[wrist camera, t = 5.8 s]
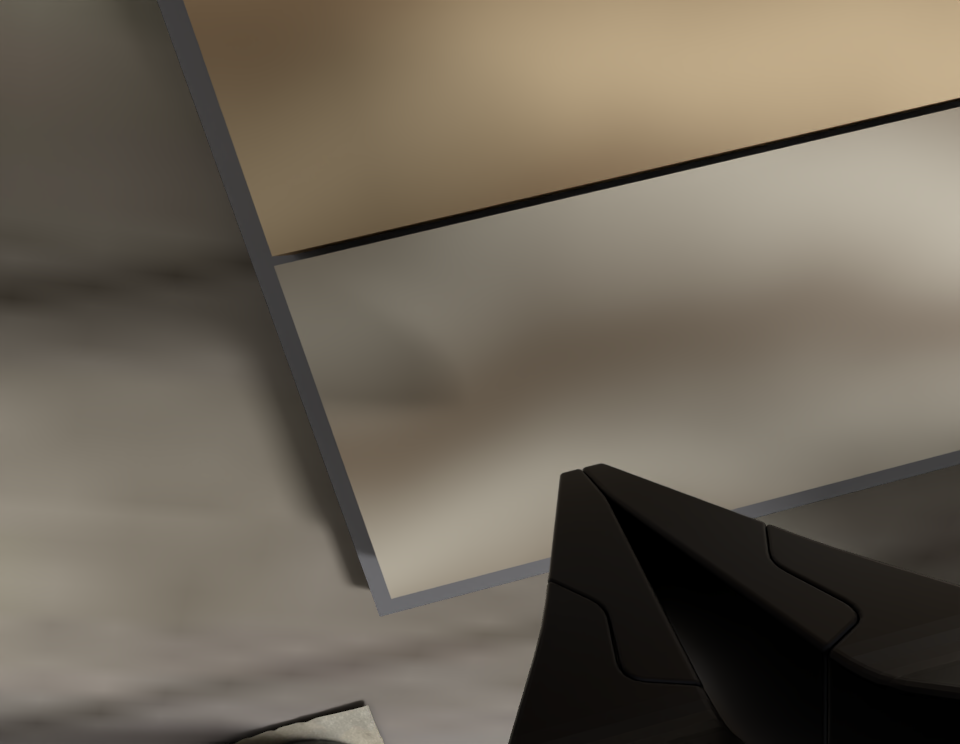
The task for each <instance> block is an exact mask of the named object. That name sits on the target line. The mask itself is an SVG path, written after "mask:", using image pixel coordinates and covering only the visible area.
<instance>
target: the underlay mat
mask: <svg viewBox="0 0 960 744" xmlns="http://www.w3.org/2000/svg"><path fill="white" fill-rule="evenodd" d="M157 2H158V5H159V7H160V10H161V13H162V16H163V18H164V21H165V24H166V27H167V30H168V32H169V35H170V38H171V41H172V43H173V46H174V49H175V52H176V54H177V57H178V60H179V63H180V65H181V68H182V71H183V74H184V77H185V79H186V82H187V85H188V88H189V90H190V93H191V96H192V99H193V101H194V104H195V107H196V110H197V112H198V115H199V118H200V121H201V124H202V126H203V129H204V132H205V135H206V137H207V140H208V143H209V146H210V148H211V151H212V154H213V157H214V159H215V162H216V165H217V168H218V170H219V173H220V176H221V179H222V182H223V184H224V187H225V190H226V193H227V195H228V198H229V201H230V204H231V206H232V209H233V212H234V215H235V217H236V220H237V223H238V226H239V229H240V231H241V234H242V237H243V240H244V242H245V245H246V248H247V251H248V253H249V256H250V259H251V262H252V264H253V267H254V270H255V273H256V276H257V278H258V281H259V284H260V287H261V289H262V292H263V295H264V298H265V300H266V303H267V306H268V309H269V311H270V314H271V317H272V320H273V322H274V325H275V328H276V331H277V334H278V336H279V339H280V342H281V345H282V347H283V350H284V353H285V356H286V358H287V361H288V364H289V367H290V369H291V372H292V375H293V378H294V381H295V383H296V386H297V389H298V392H299V394H300V397H301V400H302V403H303V405H304V408H305V411H306V414H307V416H308V419H309V422H310V425H311V428H312V430H313V433H314V436H315V439H316V441H317V444H318V447H319V450H320V452H321V455H322V458H323V461H324V463H325V466H326V469H327V472H328V474H329V477H330V480H331V483H332V486H333V488H334V491H335V494H336V497H337V499H338V502H339V505H340V508H341V510H342V513H343V516H344V519H345V521H346V524H347V527H348V530H349V533H350V535H351V538H352V541H353V544H354V546H355V549H356V552H357V555H358V557H359V560H360V563H361V566H362V568H363V571H364V574H365V577H366V580H367V582H368V585H369V588H370V591H371V593H372V596H373V599H374V602H375V604H376V607H377V610H378V613H379V615H380V616H384V615H388V614H392V613H395V612H399V611H403V610H407V609H411V608H414V607H418V606H422V605H426V604H430V603H433V602H437V601H441V600H445V599H449V598H452V597H456V596H460V595H464V594H468V593H471V592H475V591H479V590H483V589H487V588H490V587H494V586H498V585H502V584H506V583H509V582H513V581H517V580H521V579H525V578H528V577H532V576H536V575H540V574H544V573H547V572H549V567H550V558H551V557H549V558H545V559H542V560H538V561H534V562H530V563H526V564H523V565H519V566H515V567H511V568H507V569H503V570H500V571H496V572H492V573H488V574H484V575H481V576H477V577H473V578H469V579H465V580H461V581H458V582H454V583H450V584H446V585H442V586H439V587H435V588H431V589H427V590H423V591H419V592H416V593H412V594H408V595H404V596H400V597H397V598H393V599H391V597H390V594H389V591H388V588H387V585H386V582H385V580H384V577H383V574H382V571H381V568H380V565H379V563H378V560H377V557H376V554H375V551H374V548H373V546H372V543H371V540H370V537H369V534H368V531H367V529H366V526H365V523H364V520H363V517H362V514H361V512H360V509H359V506H358V503H357V500H356V497H355V495H354V492H353V489H352V486H351V483H350V480H349V477H348V475H347V472H346V469H345V466H344V463H343V460H342V458H341V455H340V452H339V449H338V446H337V443H336V441H335V438H334V435H333V432H332V429H331V426H330V424H329V421H328V418H327V415H326V412H325V409H324V407H323V404H322V401H321V398H320V395H319V392H318V390H317V387H316V384H315V381H314V378H313V375H312V373H311V370H310V367H309V364H308V361H307V358H306V356H305V353H304V350H303V347H302V344H301V341H300V339H299V336H298V333H297V330H296V327H295V324H294V322H293V319H292V316H291V313H290V310H289V307H288V305H287V302H286V299H285V296H284V293H283V290H282V288H281V285H280V282H279V279H278V276H277V273H276V271H275V268H274V266H276V265H281V264H285V263H289V262H294V261H298V260H302V259H307V258H311V257H315V256H320V255H324V254H328V253H332V252H337V251H341V250H345V249H350V248H354V247H358V246H363V245H367V244H371V243H376V242H380V241H384V240H388V239H393V238H397V237H401V236H406V235H410V234H414V233H419V232H423V231H427V230H431V229H436V228H440V227H444V226H449V225H453V224H457V223H462V222H466V221H470V220H475V219H479V218H483V217H487V216H492V215H496V214H500V213H505V212H509V211H513V210H518V209H522V208H526V207H531V206H535V205H539V204H543V203H548V202H552V201H556V200H561V199H565V198H569V197H574V196H578V195H582V194H587V193H591V192H595V191H599V190H604V189H608V188H612V187H617V186H621V185H625V184H630V183H634V182H638V181H643V180H647V179H651V178H655V177H660V176H664V175H668V174H673V173H677V172H681V171H686V170H690V169H694V168H699V167H703V166H707V165H711V164H716V163H720V162H724V161H729V160H733V159H737V158H742V157H746V156H750V155H754V154H759V153H763V152H767V151H772V150H776V149H780V148H785V147H789V146H793V145H798V144H802V143H806V142H810V141H815V140H819V139H823V138H828V137H832V136H836V135H841V134H845V133H849V132H854V131H858V130H862V129H866V128H871V127H875V126H879V125H884V124H888V123H892V122H897V121H901V120H905V119H910V118H914V117H918V116H922V115H927V114H931V113H935V112H940V111H944V110H948V109H953V108H957V107H960V100H959V101H955V102H951V103H946V104H942V105H938V106H933V107H929V108H925V109H920V110H916V111H912V112H907V113H903V114H899V115H894V116H890V117H886V118H882V119H877V120H873V121H869V122H864V123H860V124H856V125H851V126H847V127H843V128H838V129H834V130H830V131H825V132H821V133H817V134H812V135H808V136H804V137H800V138H795V139H791V140H787V141H782V142H778V143H774V144H769V145H765V146H761V147H756V148H752V149H748V150H743V151H739V152H735V153H730V154H726V155H722V156H717V157H713V158H709V159H705V160H700V161H696V162H692V163H687V164H683V165H679V166H674V167H670V168H666V169H661V170H657V171H653V172H648V173H644V174H640V175H635V176H631V177H627V178H623V179H618V180H614V181H610V182H605V183H601V184H597V185H592V186H588V187H584V188H579V189H575V190H571V191H566V192H562V193H558V194H553V195H549V196H545V197H540V198H536V199H532V200H528V201H523V202H519V203H515V204H510V205H506V206H502V207H497V208H493V209H489V210H484V211H480V212H476V213H471V214H467V215H463V216H458V217H454V218H450V219H446V220H441V221H437V222H433V223H428V224H424V225H420V226H415V227H411V228H407V229H402V230H398V231H394V232H389V233H385V234H381V235H376V236H372V237H368V238H363V239H359V240H355V241H351V242H346V243H342V244H338V245H333V246H329V247H325V248H320V249H316V250H312V251H307V252H303V253H299V254H294V255H284V256H272V254H271V251H270V249H269V246H268V243H267V240H266V237H265V234H264V231H263V228H262V226H261V223H260V220H259V217H258V214H257V211H256V208H255V205H254V203H253V200H252V197H251V194H250V191H249V188H248V185H247V182H246V180H245V177H244V174H243V171H242V168H241V165H240V162H239V159H238V157H237V154H236V151H235V148H234V145H233V142H232V139H231V136H230V134H229V131H228V128H227V125H226V122H225V119H224V116H223V113H222V111H221V108H220V105H219V102H218V99H217V96H216V93H215V90H214V87H213V85H212V82H211V79H210V76H209V73H208V70H207V67H206V64H205V62H204V59H203V56H202V53H201V50H200V47H199V44H198V41H197V39H196V36H195V33H194V30H193V27H192V24H191V21H190V18H189V16H188V13H187V10H186V7H185V4H184V1H183V0H157ZM958 464H960V450H958V451H954V452H950V453H947V454H943V455H939V456H935V457H931V458H927V459H924V460H920V461H916V462H912V463H908V464H904V465H901V466H897V467H893V468H889V469H885V470H882V471H878V472H874V473H870V474H866V475H862V476H859V477H855V478H851V479H847V480H843V481H840V482H836V483H832V484H828V485H824V486H820V487H817V488H813V489H809V490H805V491H801V492H798V493H794V494H790V495H786V496H782V497H778V498H775V499H771V500H767V501H763V502H759V503H756V504H752V505H748V506H744V507H740V508H736V509H733V510H731V511H734V512H737V513H739V514H742V515H745V516H747V517H750V518H757V517H760V516H764V515H768V514H772V513H776V512H779V511H783V510H787V509H791V508H795V507H798V506H802V505H806V504H810V503H814V502H817V501H821V500H825V499H829V498H833V497H836V496H840V495H844V494H848V493H852V492H855V491H859V490H863V489H867V488H871V487H874V486H878V485H882V484H886V483H890V482H893V481H897V480H901V479H905V478H909V477H912V476H916V475H920V474H924V473H928V472H931V471H935V470H939V469H943V468H947V467H950V466H954V465H958Z"/></svg>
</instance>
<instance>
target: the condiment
mask: <svg viewBox="0 0 960 744" xmlns="http://www.w3.org/2000/svg"><path fill="white" fill-rule="evenodd" d="M235 744H384V742H383V739H382V737H380V735H379V732H378V729H377V727H376V724H375V722H374V719H373V717H372V714H371V712H370V709H369V706H364V707H361V708H357V709H353V710H348V711H344V712H340V713H336V714H331V715H326V716H322V717H318V718H315V719H312V720H310V721H308V722H301V723H300V722H299V723H295V724H291V725H288V726H283V727H281V728H278V729H277V730H275V731H267V732H264V733H262V734H259V735H256V736H254V737H251V738H245V739H243V740H241V741H239V742H237V743H235Z"/></svg>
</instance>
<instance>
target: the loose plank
mask: <svg viewBox="0 0 960 744" xmlns="http://www.w3.org/2000/svg"><path fill="white" fill-rule="evenodd" d="M274 268H275V271H276V273H277V276H278V279H279V282H280V285H281V288H282V290H283V293H284V296H285V299H286V302H287V305H288V307H289V310H290V313H291V316H292V319H293V322H294V324H295V327H296V330H297V333H298V336H299V339H300V341H301V344H302V347H303V350H304V353H305V356H306V358H307V361H308V364H309V367H310V370H311V373H312V375H313V378H314V381H315V384H316V387H317V390H318V392H319V395H320V398H321V401H322V404H323V407H324V409H325V412H326V415H327V418H328V421H329V424H330V426H331V429H332V432H333V435H334V438H335V441H336V443H337V446H338V449H339V452H340V455H341V458H342V460H343V463H344V466H345V469H346V472H347V475H348V477H349V480H350V483H351V486H352V489H353V492H354V495H355V497H356V500H357V503H358V506H359V509H360V512H361V514H362V517H363V520H364V523H365V526H366V529H367V531H368V534H369V537H370V540H371V543H372V546H373V548H374V551H375V554H376V557H377V560H378V563H379V565H380V568H381V571H382V574H383V577H384V580H385V582H386V585H387V588H388V591H389V594H390V597H391V599H393V598H397V597H400V596H404V595H408V594H412V593H416V592H419V591H423V590H427V589H431V588H435V587H439V586H442V585H446V584H450V583H454V582H458V581H461V580H465V579H469V578H473V577H477V576H481V575H484V574H488V573H492V572H496V571H500V570H503V569H507V568H511V567H515V566H519V565H523V564H526V563H530V562H534V561H538V560H542V559H545V558H549V557H551V550H552V541H553V532H554V523H555V514H556V506H557V497H558V488H559V479H560V475H561V474H562V473H564V472H568V471H572V470H576V469H581V470H582V469H583V468H585V467H587V466H591V465H595V464H599V463H603V464H607V465H609V466H612V467H615V468H617V469H620V470H623V471H626V472H628V473H631V474H634V475H636V476H639V477H642V478H645V479H647V480H650V481H653V482H655V483H658V484H661V485H663V486H666V487H669V488H672V489H674V490H677V491H680V492H682V493H685V494H688V495H691V496H693V497H696V498H699V499H701V500H704V501H707V502H710V503H712V504H715V505H718V506H720V507H723V508H726V509H728V510H733V509H736V508H740V507H744V506H748V505H752V504H756V503H759V502H763V501H767V500H771V499H775V498H778V497H782V496H786V495H790V494H794V493H798V492H801V491H805V490H809V489H813V488H817V487H820V486H824V485H828V484H832V483H836V482H840V481H843V480H847V479H851V478H855V477H859V476H862V475H866V474H870V473H874V472H878V471H882V470H885V469H889V468H893V467H897V466H901V465H904V464H908V463H912V462H916V461H920V460H924V459H927V458H931V457H935V456H939V455H943V454H947V453H950V452H954V451H958V450H960V107H957V108H953V109H948V110H944V111H940V112H935V113H931V114H927V115H922V116H918V117H914V118H910V119H905V120H901V121H897V122H892V123H888V124H884V125H879V126H875V127H871V128H866V129H862V130H858V131H854V132H849V133H845V134H841V135H836V136H832V137H828V138H823V139H819V140H815V141H810V142H806V143H802V144H798V145H793V146H789V147H785V148H780V149H776V150H772V151H767V152H763V153H759V154H754V155H750V156H746V157H742V158H737V159H733V160H729V161H724V162H720V163H716V164H711V165H707V166H703V167H699V168H694V169H690V170H686V171H681V172H677V173H673V174H668V175H664V176H660V177H655V178H651V179H647V180H643V181H638V182H634V183H630V184H625V185H621V186H617V187H612V188H608V189H604V190H599V191H595V192H591V193H587V194H582V195H578V196H574V197H569V198H565V199H561V200H556V201H552V202H548V203H543V204H539V205H535V206H531V207H526V208H522V209H518V210H513V211H509V212H505V213H500V214H496V215H492V216H487V217H483V218H479V219H475V220H470V221H466V222H462V223H457V224H453V225H449V226H444V227H440V228H436V229H431V230H427V231H423V232H419V233H414V234H410V235H406V236H401V237H397V238H393V239H388V240H384V241H380V242H376V243H371V244H367V245H363V246H358V247H354V248H350V249H345V250H341V251H337V252H332V253H328V254H324V255H320V256H315V257H311V258H307V259H302V260H298V261H294V262H289V263H285V264H281V265H276V266H274Z"/></svg>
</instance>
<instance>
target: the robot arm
mask: <svg viewBox="0 0 960 744" xmlns="http://www.w3.org/2000/svg"><path fill="white" fill-rule="evenodd" d="M508 744H960V586H959V585H956V584H953V583H949V582H946V581H943V580H939V579H936V578H932V577H929V576H926V575H922V574H919V573H916V572H912V571H909V570H906V569H902V568H899V567H896V566H892V565H889V564H886V563H882V562H879V561H876V560H873V559H869V558H866V557H863V556H860V555H857V554H853V553H850V552H847V551H844V550H841V549H837V548H834V547H831V546H828V545H825V544H823V543H820V542H817V541H814V540H811V539H808V538H805V537H802V536H800V535H797V534H794V533H791V532H788V531H786V530H783V529H780V528H778V527H775V526H772V525H767V526H766V524H765V523H764V522H761V521H758V520H756V519H753V518H750V517H747V516H745V515H742V514H739V513H737V512H734V511H731V510H728V509H726V508H723V507H720V506H718V505H715V504H712V503H710V502H707V501H704V500H701V499H699V498H696V497H693V496H691V495H688V494H685V493H682V492H680V491H677V490H674V489H672V488H669V487H666V486H663V485H661V484H658V483H655V482H653V481H650V480H647V479H645V478H642V477H639V476H636V475H634V474H631V473H628V472H626V471H623V470H620V469H617V468H615V467H612V466H609V465H607V464H603V463H599V464H595V465H591V466H587V467H585V468H583V469H582V470H581V469H576V470H572V471H568V472H564V473H562V474H561V475H560V479H559V488H558V497H557V506H556V514H555V523H554V532H553V541H552V550H551V558H550V567H549V576H548V585H547V591H546V600H545V606H544V612H543V619H542V625H541V630H540V634H539V638H538V642H537V646H536V650H535V654H534V658H533V661H532V664H531V668H530V671H529V675H528V678H527V681H526V685H525V688H524V692H523V695H522V698H521V702H520V705H519V709H518V712H517V716H516V719H515V722H514V726H513V729H512V733H511V736H510V739H509V743H508Z"/></svg>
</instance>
